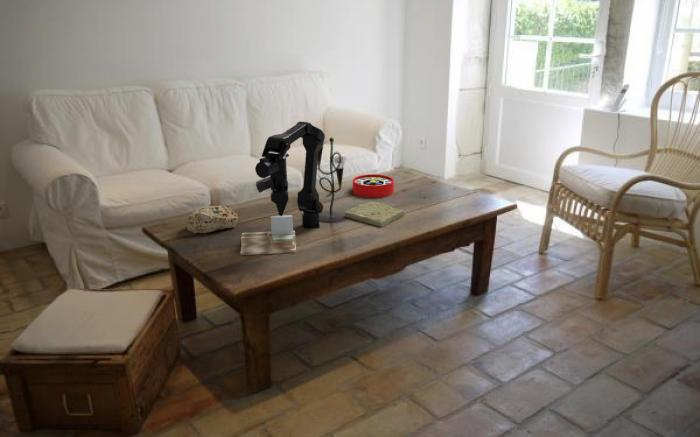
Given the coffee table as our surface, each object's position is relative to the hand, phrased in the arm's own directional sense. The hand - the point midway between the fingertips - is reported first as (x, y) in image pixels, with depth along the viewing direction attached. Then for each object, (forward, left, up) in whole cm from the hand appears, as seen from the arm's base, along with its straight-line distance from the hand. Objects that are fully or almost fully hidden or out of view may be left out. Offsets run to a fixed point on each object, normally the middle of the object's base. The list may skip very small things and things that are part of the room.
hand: (280, 211), depth 214 cm
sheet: (0, 0, -12) cm, 12 cm away
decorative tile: (-40, -26, -14) cm, 50 cm away
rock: (+28, -20, -13) cm, 37 cm away
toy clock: (-44, -61, -13) cm, 76 cm away
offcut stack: (0, +5, -12) cm, 13 cm away
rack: (+5, +2, -13) cm, 14 cm away
